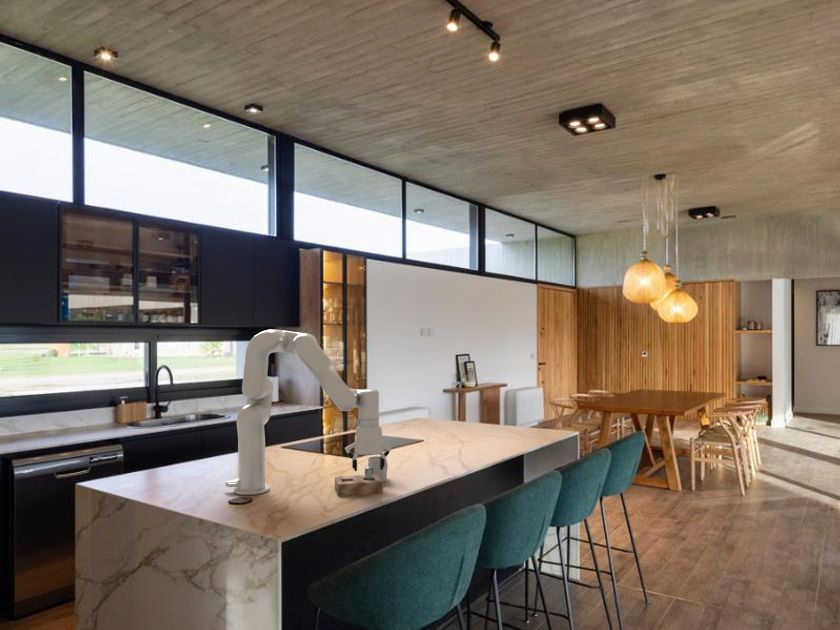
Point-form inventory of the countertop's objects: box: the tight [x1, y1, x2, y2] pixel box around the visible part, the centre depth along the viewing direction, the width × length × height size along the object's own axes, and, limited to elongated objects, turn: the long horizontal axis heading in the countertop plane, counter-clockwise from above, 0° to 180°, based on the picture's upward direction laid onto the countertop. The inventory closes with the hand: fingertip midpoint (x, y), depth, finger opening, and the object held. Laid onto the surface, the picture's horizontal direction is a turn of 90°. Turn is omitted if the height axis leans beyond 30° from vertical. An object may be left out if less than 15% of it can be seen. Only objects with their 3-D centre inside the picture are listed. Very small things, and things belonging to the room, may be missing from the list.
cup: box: [367, 455, 389, 483], centre depth 240 cm, size 7×10×9 cm
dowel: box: [364, 466, 374, 480], centre depth 226 cm, size 3×3×7 cm
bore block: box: [334, 474, 384, 497], centre depth 225 cm, size 16×12×4 cm
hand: (368, 469), depth 226 cm, fingers open, 9 cm apart
